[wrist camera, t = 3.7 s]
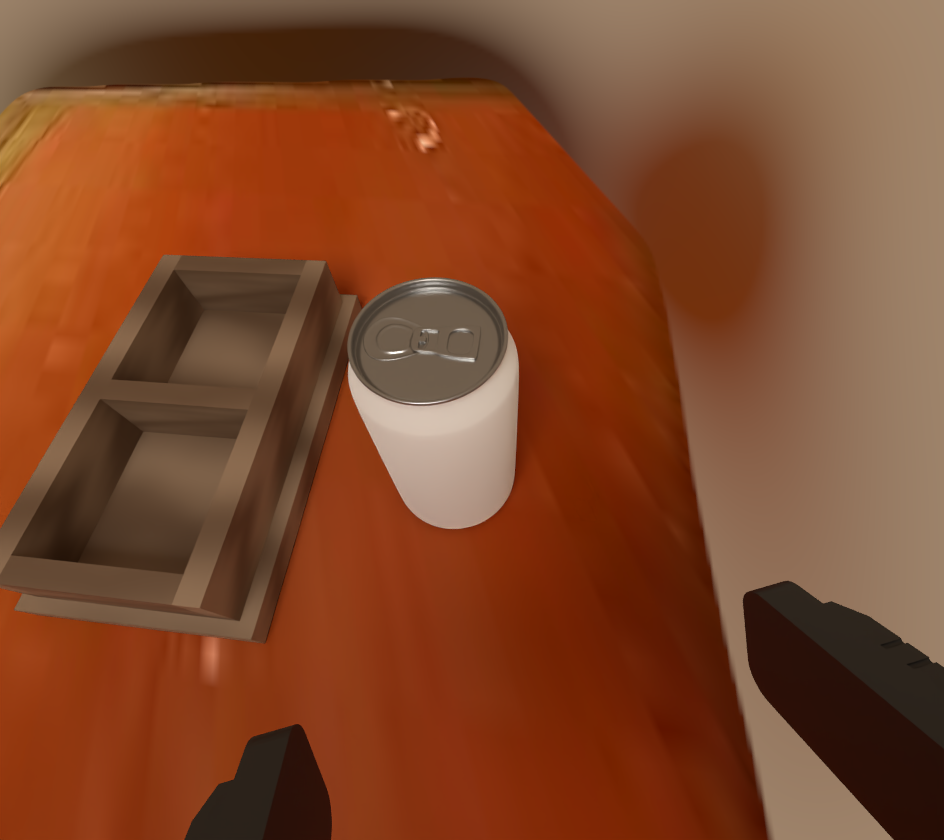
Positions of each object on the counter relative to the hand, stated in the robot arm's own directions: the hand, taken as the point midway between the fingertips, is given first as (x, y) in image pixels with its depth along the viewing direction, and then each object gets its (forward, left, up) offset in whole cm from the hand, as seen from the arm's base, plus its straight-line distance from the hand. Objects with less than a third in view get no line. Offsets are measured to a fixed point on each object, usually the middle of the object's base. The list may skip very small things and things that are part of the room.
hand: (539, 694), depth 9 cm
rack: (+12, +18, -15) cm, 26 cm away
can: (+11, +4, -16) cm, 19 cm away
